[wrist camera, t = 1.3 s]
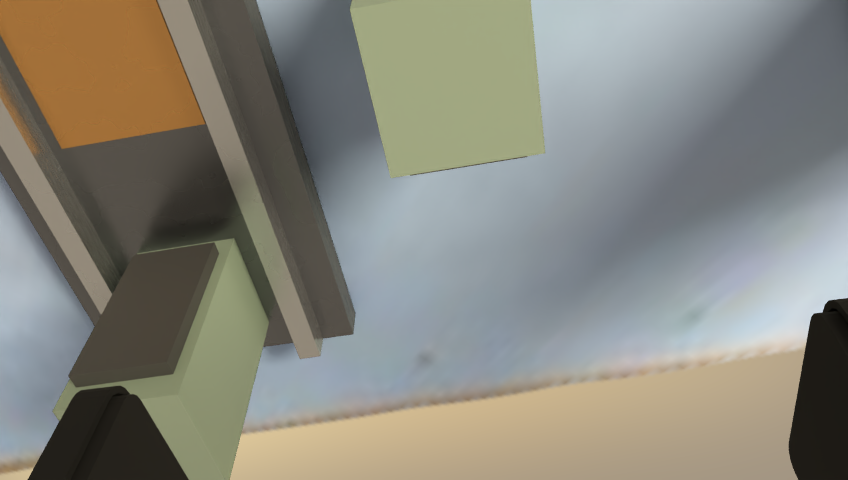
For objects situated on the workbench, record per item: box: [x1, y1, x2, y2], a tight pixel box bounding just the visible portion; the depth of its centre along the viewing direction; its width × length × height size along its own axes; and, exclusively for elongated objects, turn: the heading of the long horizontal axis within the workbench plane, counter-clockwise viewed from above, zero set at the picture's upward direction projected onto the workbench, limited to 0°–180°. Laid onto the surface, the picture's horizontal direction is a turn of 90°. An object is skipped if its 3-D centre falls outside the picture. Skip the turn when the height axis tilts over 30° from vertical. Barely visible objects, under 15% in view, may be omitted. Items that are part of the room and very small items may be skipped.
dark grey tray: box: [0, 0, 355, 359], centre depth 30 cm, size 12×20×3 cm, turn 10°
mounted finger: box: [52, 238, 269, 480], centre depth 29 cm, size 4×6×9 cm
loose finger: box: [350, 0, 545, 178], centre depth 23 cm, size 4×6×9 cm
